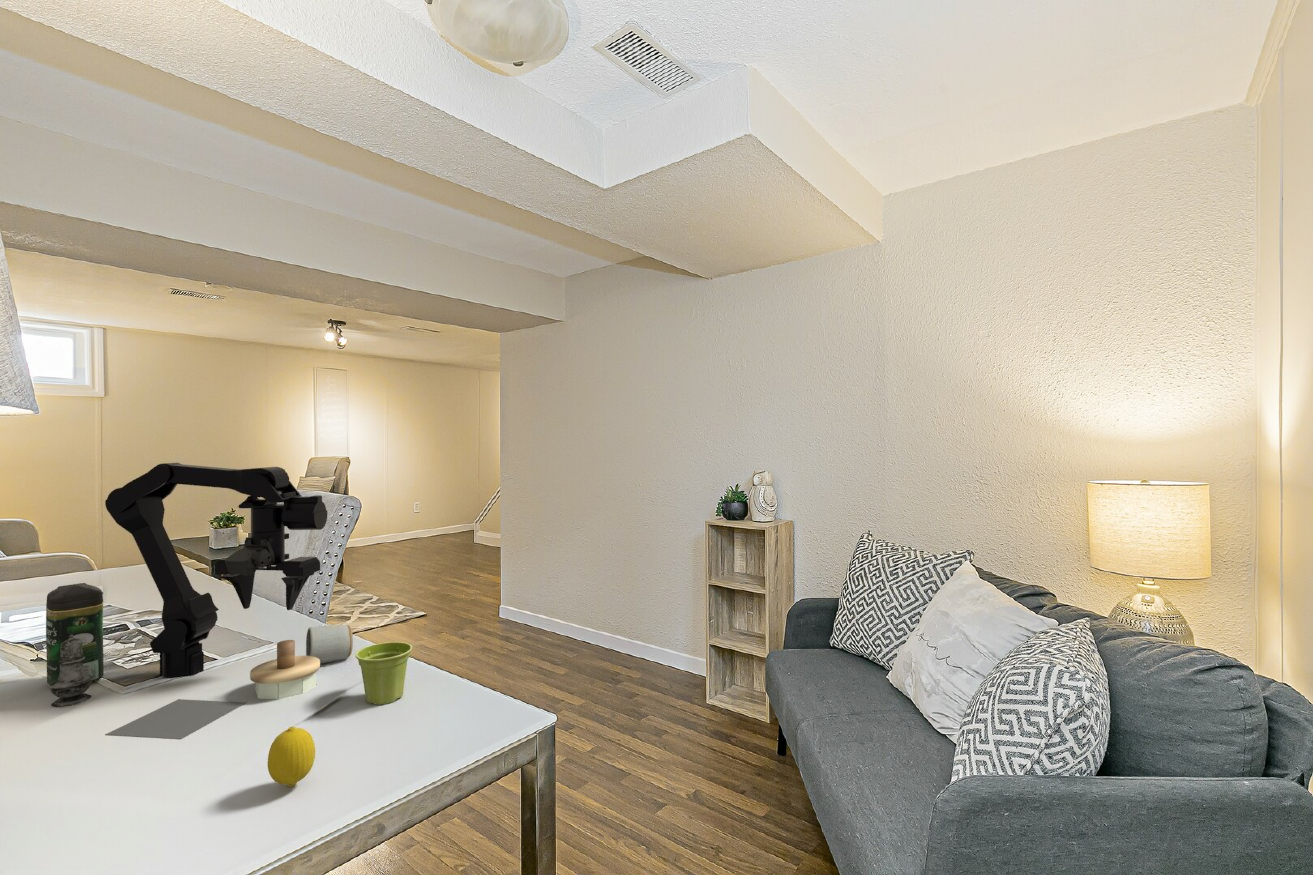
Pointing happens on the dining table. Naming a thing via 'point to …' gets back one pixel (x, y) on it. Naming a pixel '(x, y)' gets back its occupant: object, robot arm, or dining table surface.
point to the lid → (285, 666)
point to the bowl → (285, 688)
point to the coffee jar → (75, 627)
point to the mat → (177, 719)
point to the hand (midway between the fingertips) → (268, 609)
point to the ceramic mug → (329, 642)
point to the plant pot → (384, 670)
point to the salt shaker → (71, 676)
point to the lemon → (291, 756)
